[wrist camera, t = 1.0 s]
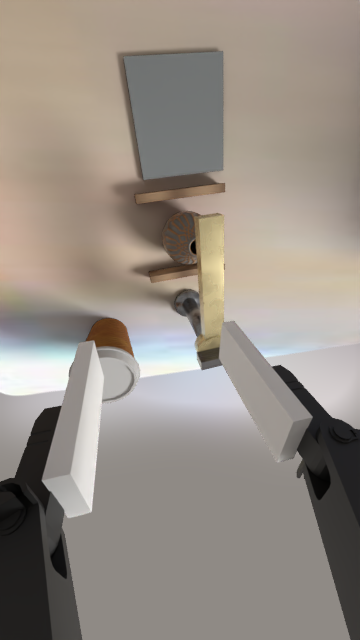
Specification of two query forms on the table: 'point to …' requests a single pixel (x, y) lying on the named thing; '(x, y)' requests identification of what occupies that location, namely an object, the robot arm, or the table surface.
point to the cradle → (174, 194)
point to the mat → (177, 112)
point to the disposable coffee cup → (114, 359)
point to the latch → (210, 287)
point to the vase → (181, 237)
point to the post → (190, 308)
